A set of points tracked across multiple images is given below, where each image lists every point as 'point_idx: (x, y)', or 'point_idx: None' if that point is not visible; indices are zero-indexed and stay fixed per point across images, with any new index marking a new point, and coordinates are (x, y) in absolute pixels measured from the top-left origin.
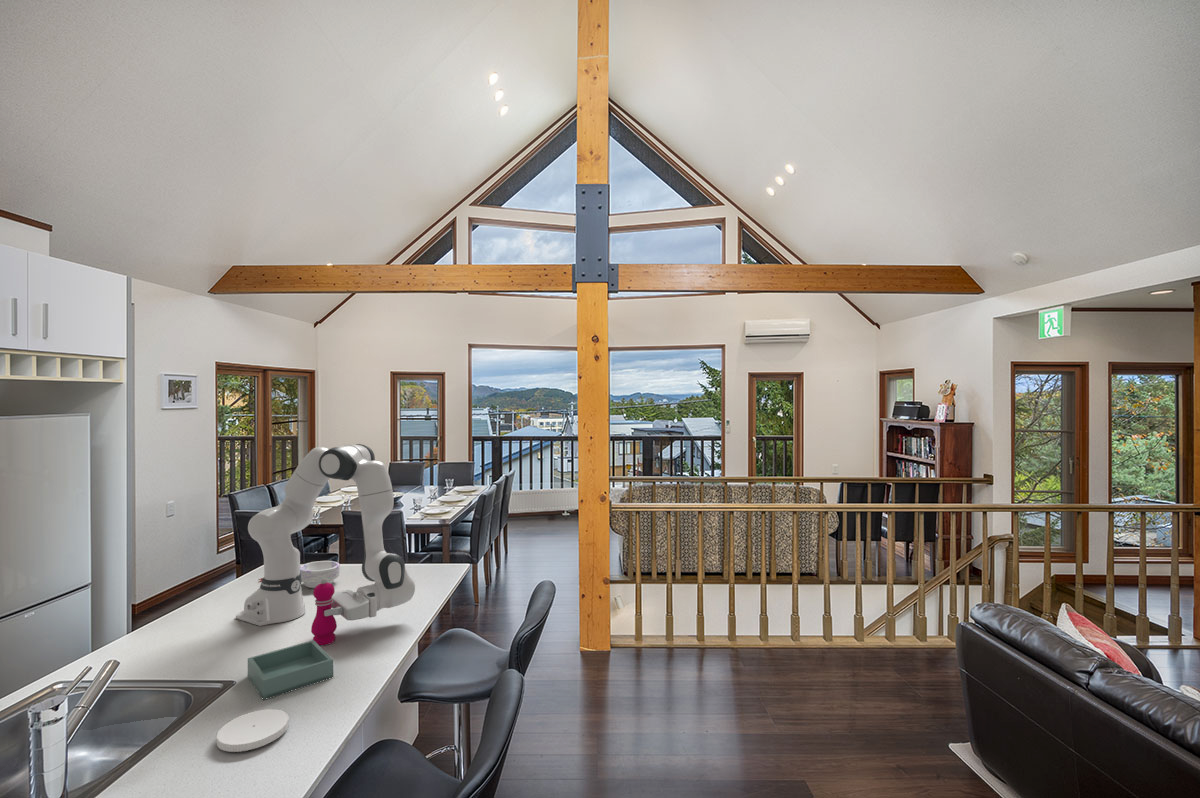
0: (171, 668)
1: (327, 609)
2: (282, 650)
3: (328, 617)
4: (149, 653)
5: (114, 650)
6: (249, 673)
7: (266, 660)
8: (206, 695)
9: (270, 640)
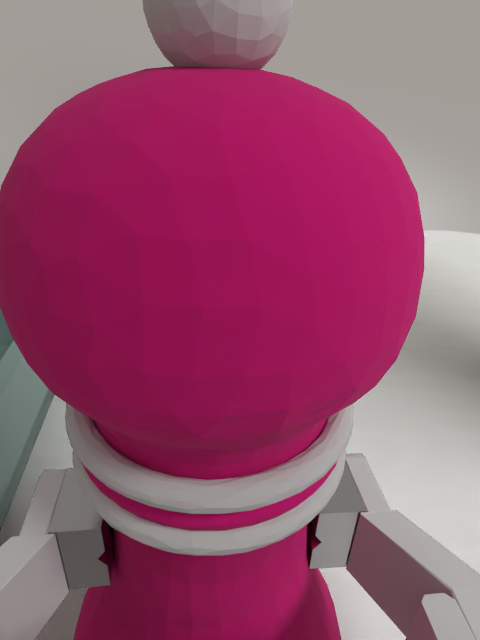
0: None
1: (71, 498)
2: (4, 356)
3: (104, 597)
4: (424, 257)
5: (468, 236)
6: None
7: None
8: None
9: (415, 437)
